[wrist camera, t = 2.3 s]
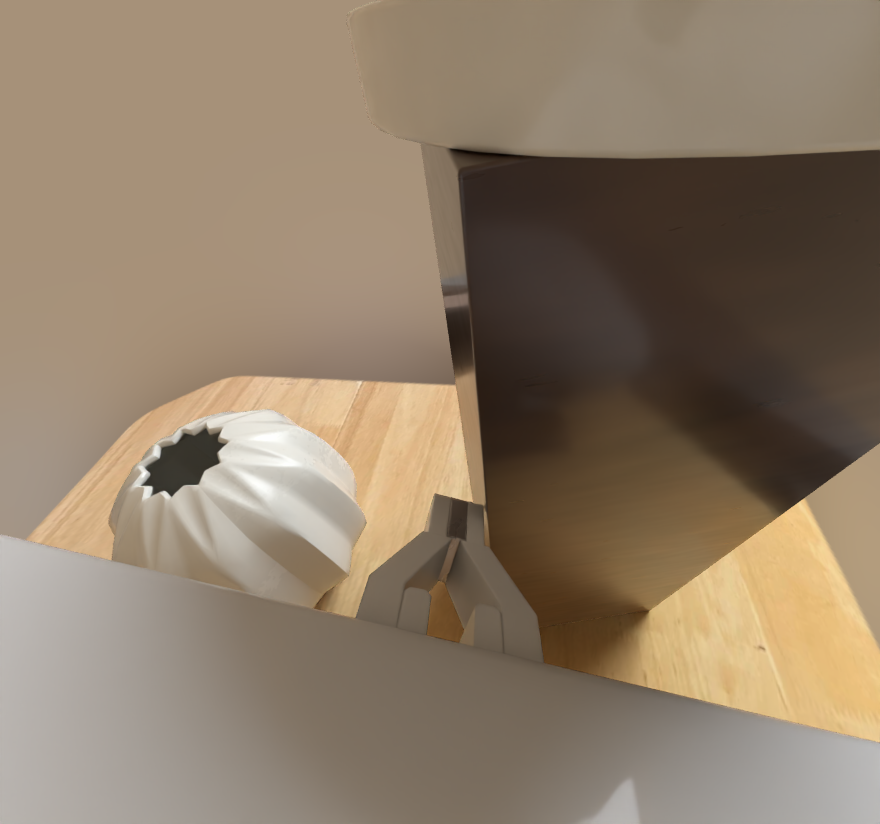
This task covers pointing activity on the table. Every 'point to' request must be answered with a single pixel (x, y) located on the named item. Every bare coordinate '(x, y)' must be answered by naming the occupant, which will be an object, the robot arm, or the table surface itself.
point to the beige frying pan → (623, 76)
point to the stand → (653, 356)
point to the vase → (242, 508)
